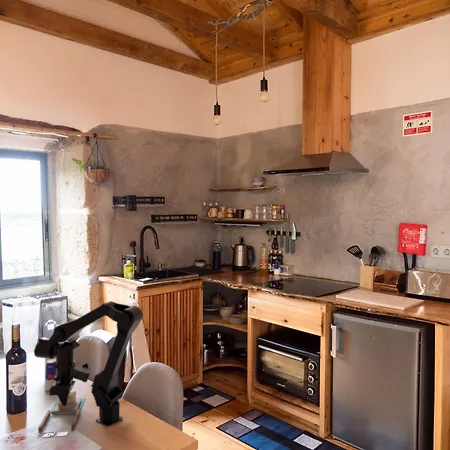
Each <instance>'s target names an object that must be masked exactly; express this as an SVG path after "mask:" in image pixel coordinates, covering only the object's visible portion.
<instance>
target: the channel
mask: <svg viewBox="0 0 450 450" xmlns="http://www.w3.org/2000/svg"><path fill="white" fill-rule="evenodd" d="M81 411H82V409H81V408H78V410H77V413H75V415H74V418H73V421H72V423H71V425H70V432H71V431H74V432H75V430H76V427H77V424H78V422H79V419H80V417H81V414H82V413H81ZM50 412H51V410H50V409H48V410H47V411H46V412H45V414H44V416H43V418H42V420H41V421H40V424H39V425H38V428H37V429H38V430H37V431H38V432H37V434H38V433H41V432H42V433H41V436H40V438H41V437H42V436H43V435H44V434H46V433H54V432H55V431H50V432H49V431H48V432H43V431H44V429H45V427H46V426H47V423H48V421H49V419H50V418H51V413H50ZM44 426H45V427H44ZM43 428H44V429H43ZM42 430H43V431H42ZM48 435H49V434H48ZM50 436H51V435H50Z"/></svg>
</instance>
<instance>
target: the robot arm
mask: <svg viewBox="0 0 450 450" xmlns="http://www.w3.org/2000/svg"><path fill="white" fill-rule="evenodd" d="M104 317H108V318H109V319H110V320H111V321H113V322H115V323H116V330H117V331H116V336H115V338H114V341H113V344H112V347H111V350H110V352H109V355H108V357H107V359H106V363H105V366H104V369H103V370H101V371H100V372H98V373H97V374H95V375H94V378H93V382H92V384H91V385H90V387H91V394H92V396H93V398H94V402H95V404H96V407H99V411H98V412H99V413H98V417H97V418H96V419H95V422H97V423H99V424H102V425H104V426H106V427H110V426H113V425H114V424H116V423H118V422H120V421H123V420H124V417H123V416H121V415H120V408H121V407H120V404H121V403H120V402H119V400H120V399H122V398H123V396H124V391H123V390H122V388H121V387H120V386H119V385H118V382H119V374H118V372H119V369H120V367H121V364H122V362H123V358H124V355H125V353H126V351H127V348H128V345H129V342H130V339H131V337H132V335H133V333H134V332H135V330H136V329H137V328H138V326H139V325H140V323H141V321H142V320H143V317H144V313H143V311H142V310H141V307H138V306H136V305H132V306H131V305H127V304H122V303H118V302H115V301H113V300H109V301H107V302H104V303H102V304H101V305H99V306H98V307H96V308H95V309H91V311H89V312H86V314H84V315H82V316H80V317H78V318H76V319H72V320H69V321H67V322H64V323H62V324H59V325H57V326H55V327H54V328H53V333H52V335H51V336H50V338H48V337H44V336H42V337H40V338H38V341H37V343H36V344H35V347H34V349H33V353H34V354H33V355H34V356H35V358H40V359H45V358H48V359H53V358H55V357H56V364H55V369H56V376H55V381H59V382H55V383H54V384H52V386H51V387H50V389H49V394H48V395H49V396H57V398H59V399H60V401H61V403H62V405H63V406H66V404H67V400H68V396H69V394H70V391H71V390H72V389H73V388H74V385H75V383H76V380H78V381H80V382H81V381H82V382H83V383H87V382H88V380H89V377H90V375H91V373H92V368H90V363H88V362H86V361H85V362H84V363H83V364H82V365H81V364H79V365H78V364H77V362H76V359H75V350H76V349H77V348H79V347H81V344H80V343H79V342H78V341H77V339H73V338H75V337H76V336H77V335H79V334H80V333H82V331H83V329H85V328H87V327H88V326H90V325H92V324H94V323H95V322H97V321H99V320H101V319H102V318H104ZM71 339H73V340H72V341H69V340H71ZM74 379H75V380H74Z"/></svg>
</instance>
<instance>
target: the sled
mask: <svg viewBox="0 0 450 450" xmlns="http://www.w3.org/2000/svg"><path fill="white" fill-rule="evenodd" d="M57 398H58V397H57ZM81 399H82V397H77V390H76V389H73V390H72V389H71V391H70V394H69V396H68V400H67V404H66V406H63V405H62V403H61V401H60V399H59V398H58V399H57V400H58V401H57V400H56V401H57V403H56V402H55V403H56V405H55V404H54V405H55V407H54V409H53V410H52V409H51V410H52V413H51V415H66V414H69V415H70V414H76V413H77V410H78V408H79V406H80V403H81Z"/></svg>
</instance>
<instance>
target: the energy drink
mask: <svg viewBox="0 0 450 450" xmlns="http://www.w3.org/2000/svg"><path fill="white" fill-rule="evenodd" d="M55 364H56V358H54V359H49V360H47V361H46V363H45V362H44V383H45V384H44V386H45V387H44V393H46V394H47V395H49V389H50V387H51V386H52V384H54V383H55V382H59V381H55V376H56V369H55Z"/></svg>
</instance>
